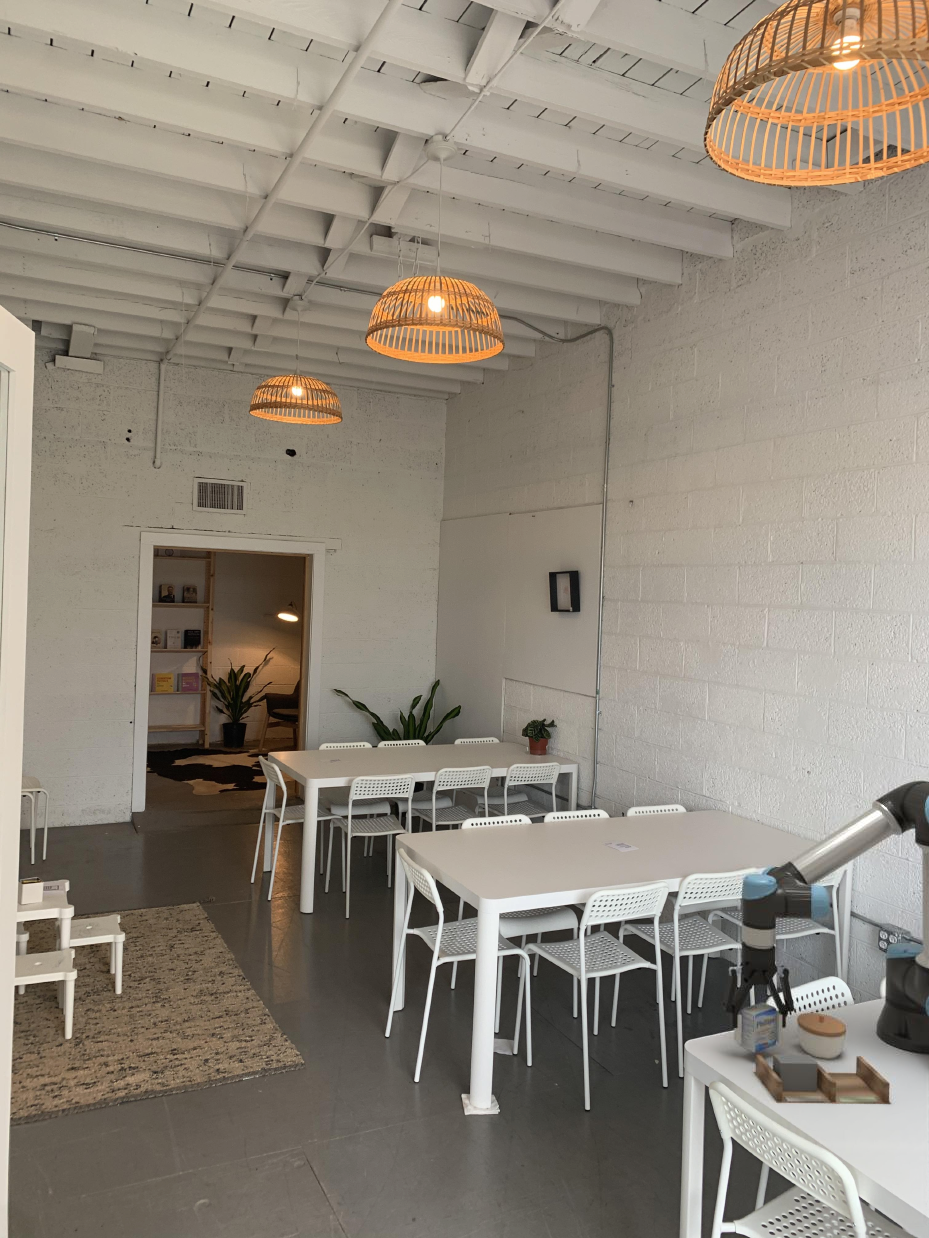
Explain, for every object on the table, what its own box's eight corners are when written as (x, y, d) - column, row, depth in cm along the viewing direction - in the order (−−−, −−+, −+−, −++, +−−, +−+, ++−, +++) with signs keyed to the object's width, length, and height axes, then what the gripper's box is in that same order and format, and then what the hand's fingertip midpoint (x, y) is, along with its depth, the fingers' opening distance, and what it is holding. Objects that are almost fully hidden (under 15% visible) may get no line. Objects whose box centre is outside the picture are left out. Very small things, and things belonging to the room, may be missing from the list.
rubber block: (808, 1082, 193) (809, 1054, 193) (816, 1091, 189) (817, 1063, 189) (772, 1081, 193) (773, 1054, 193) (779, 1091, 189) (780, 1063, 189)
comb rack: (753, 1076, 197) (753, 1053, 197) (860, 1077, 198) (860, 1055, 198) (776, 1107, 184) (777, 1082, 184) (891, 1108, 185) (892, 1084, 185)
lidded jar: (849, 1069, 202) (851, 1027, 202) (800, 1062, 204) (801, 1021, 204) (839, 1048, 213) (840, 1008, 213) (792, 1042, 215) (793, 1003, 215)
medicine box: (754, 1053, 201) (755, 1015, 201) (738, 1045, 204) (739, 1008, 204) (776, 1045, 205) (777, 1007, 205) (760, 1037, 209) (761, 1000, 209)
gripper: (797, 937, 209) (796, 1033, 209) (707, 937, 208) (706, 1034, 208) (811, 948, 202) (810, 1048, 201) (718, 949, 201) (717, 1049, 200)
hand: (757, 1041), depth 205 cm, fingers closed on medicine box, 9 cm apart
